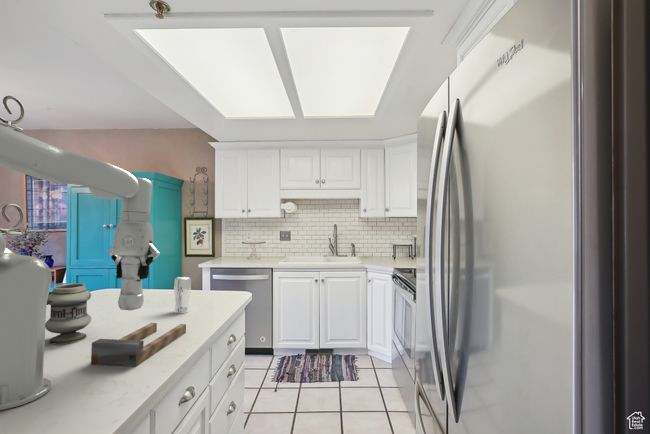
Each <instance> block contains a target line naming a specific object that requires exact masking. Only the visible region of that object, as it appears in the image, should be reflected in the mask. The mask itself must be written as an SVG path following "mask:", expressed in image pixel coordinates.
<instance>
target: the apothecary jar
mask: <svg viewBox="0 0 650 434" xmlns="http://www.w3.org/2000/svg"><path fill="white" fill-rule="evenodd" d="M91 297H92V293H91V292H90V290H87V288H86V284H85V283H80V282H79V283H66V284H65V283H64V284H60V285H56V286H54V287H53V289H52V292H51V293H49V295H48V299H47V305H49V306H50V317H49V319H48V320H46V324H45V330H47V331H48V332H50V333H54V334H57V335H55V336H53V337H51V338H50V339H49V340H48V343H49V344H50V345H52V344H53V345H57V346H58V345H68V344H69V345H70V344H73V343H77V342H80V341H83V340H84V339H86V338H87V333H83V332H80V330H82V329H84V328H86V327H87V326H89V324H90V323H91V322H92V317H91V315H90V314H89V313H88V312H87V311H88V309H87V308H88V307H87V303H88V302H87V301H89V300H90V299H91Z"/></svg>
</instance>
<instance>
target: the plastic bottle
mask: <svg viewBox="0 0 650 434" xmlns="http://www.w3.org/2000/svg"><path fill="white" fill-rule="evenodd" d="M140 266H142V263H141V260H140V257H134V256H123V257H122V259H121V270H122V278H121V285H120V293H119V296H118V300H117V304H118V308H119V309H120V310H122V311H135V310H139V309H141V308H142V307H143V306H144V301H145V300H144V297H145V296H144V293H143V291H144V289H143V280H144V279H139V275H140Z"/></svg>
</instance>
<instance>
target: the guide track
mask: <svg viewBox="0 0 650 434" xmlns="http://www.w3.org/2000/svg"><path fill="white" fill-rule="evenodd" d="M157 327H158V323H157V322H150V323H148V324H146V325H145V326H142V327H141V328H139V329H136V330H134V331H133V332H131V333H129V334H127V335H124V336H123V337H121V338H118V339H115V338H114V339H111V338H99V339H97V340H95V341H94V340H93V342H91V354H90V355H91V356H90V357H91V358H90V365H96V366H98V365H99V366H118V367H119V366H120V367H137V366H139V365H141V364H142V363H143V362H145V361H146V360H148V359H149V358H151V357H152V356H154V355H155V354H156V353H159V352H160V351H161V350H163V349H164V348H166V346H168V345H170V344H172V343H173V342H174V341H176V340H177V339H178V338H180V337H181V336H183V335H185V334H186V332H187V324H186V323H180V324H179V325H176V326H175V327H173V328H172V329H169V331H167V332H165V333H164V334H162V335H160V336H159V337H157V338H155V339H154V340H152V341H150V342H149V343H148V344H145V345H144V342H145V340H144V339H145V338H148V337H150V336H151V335H152V334H154V333H157Z"/></svg>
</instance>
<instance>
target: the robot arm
mask: <svg viewBox="0 0 650 434" xmlns="http://www.w3.org/2000/svg"><path fill="white" fill-rule="evenodd" d="M0 167H1V168H3V169H4V168H5V169H7V170H12V171H15V172H18V173H21V174H24V175H27V176H29V177H32V178H36V179H39V180H42V181H45V182H50V183H56V184H64V185H76V186H83V187H87V188H88V190H89V191H90V193H91V194H92V196H94V197H96V198H98V199H100V200H122V201H121V213H119V214H118V215H117V217H118V218H117V219H120V222H117V224H116V227H115V231H114V236H113V243H112V247H111V248H109V249H108V250H107V254H108V255H109V257H111V259H112V261H113V262H114V264H115V266H116V275H115V276H116V279H122V270H121V259H122V257H123V256H134V257H140V260H141V263H142V266H140V275H139V279H143V280H145V279H148V277H149V274H150V266H151V265H152V263H153V262H154V261H155V260H156V259H157V258H158V257H159V256H160V255H161V253H160V251H159V250H158V249H157V248H156V247H155V246H154V230H153V224H152V223H150V222H151V208H152V206H151V205H152V189H153V183H152V181H151V180H150V179H148V178H144V177H138V176H137V177H136V176H135V175H134V174H132V173H131V172H129V171H127V170H125V169H123V168H120V167H118V166H116V165H113V164H111V163H108V162H105V161H103V160H101V159H97V158H94V157H89V156H86V155H82V154H79V153H76V152H72V151H68V150H65V149H62V148H59V147H56V146H55V145H54V146H53V145H51V144H49V143H47V142H44V141H42V140H39V139H37V138H35V137H32V136H29V135H28V134H27V135H26V134H25V133H22V132H19V131H17V130H15V129H12V128H10V127H8V126H5V125H2V124H0ZM52 279H53V277H52V271H51V268H50V267H49V265H48V264H47V263H46V262H45V261H44V260H42V259H40V258H37V257H34V256H32V255H26V254H16V253H14V252H13V251H12V250H11V249H9V248H7V242H6V239H5V237H4V235H3V234H2V233H1V232H0V411H3V410H9V409H12V408H15V407H16V408H17V407H19V406H22V405H26V404H28V403H31V402H34V401H35V400H38V399H40V398H41V397H43V396H44V395H46V394H47V393H48V392H49V391H50V390H51V389H52V381H51V380H50V379H49V378H46V377H45V378H44V363H45V341H46V340H45V339H46V328H45V324H46V322H47V320H46V319H47V305H48V303H47V299H48V296H49V295H50V290H51V286H52V281H53V280H52Z"/></svg>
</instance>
